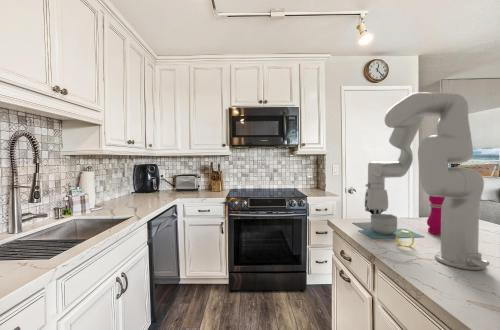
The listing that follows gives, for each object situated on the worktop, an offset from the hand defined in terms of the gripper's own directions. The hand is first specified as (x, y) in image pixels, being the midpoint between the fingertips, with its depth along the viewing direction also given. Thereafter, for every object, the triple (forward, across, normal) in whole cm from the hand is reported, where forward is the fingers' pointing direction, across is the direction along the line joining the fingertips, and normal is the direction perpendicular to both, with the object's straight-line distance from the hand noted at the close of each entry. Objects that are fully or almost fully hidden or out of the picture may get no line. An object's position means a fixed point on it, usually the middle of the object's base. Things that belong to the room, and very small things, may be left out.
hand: (375, 222), depth 123 cm
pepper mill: (+2, +22, -12) cm, 25 cm away
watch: (+2, -4, -26) cm, 26 cm away
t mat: (+2, 0, -4) cm, 5 cm away
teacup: (+2, -1, -9) cm, 10 cm away
